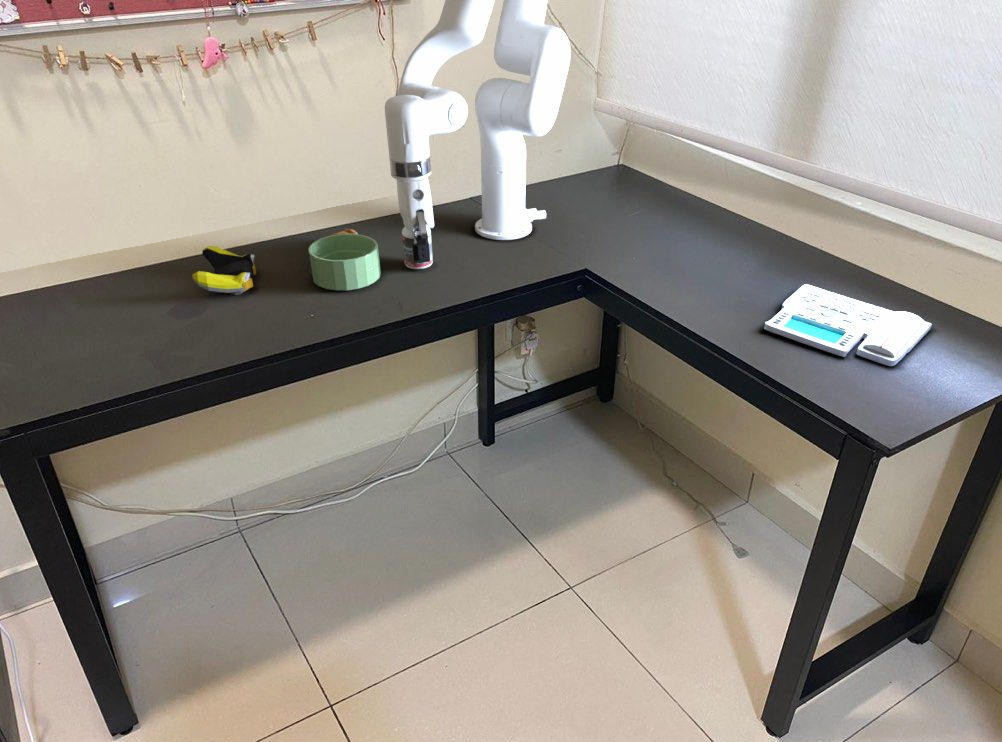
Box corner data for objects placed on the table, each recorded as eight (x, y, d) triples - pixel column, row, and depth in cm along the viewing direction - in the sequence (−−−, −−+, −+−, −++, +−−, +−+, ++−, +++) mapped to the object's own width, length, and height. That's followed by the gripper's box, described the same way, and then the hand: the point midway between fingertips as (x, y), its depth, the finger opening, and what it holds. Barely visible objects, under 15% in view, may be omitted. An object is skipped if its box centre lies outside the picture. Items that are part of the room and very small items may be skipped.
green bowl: (373, 260, 163) (370, 230, 159) (386, 287, 153) (383, 255, 149) (309, 269, 159) (304, 238, 156) (318, 297, 149) (313, 264, 146)
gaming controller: (195, 303, 147) (251, 300, 148) (188, 276, 144) (245, 272, 145) (208, 269, 159) (259, 266, 160) (202, 243, 156) (254, 240, 157)
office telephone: (935, 316, 139) (896, 361, 126) (930, 329, 140) (892, 375, 127) (806, 277, 151) (759, 314, 138) (803, 289, 152) (757, 328, 140)
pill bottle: (398, 264, 161) (394, 217, 155) (419, 255, 164) (416, 209, 158) (417, 272, 157) (413, 225, 152) (438, 263, 161) (435, 216, 155)
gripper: (441, 178, 143) (447, 270, 154) (418, 150, 157) (425, 236, 167) (401, 184, 141) (409, 276, 152) (381, 154, 155) (390, 241, 165)
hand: (418, 254), depth 159 cm, fingers closed on pill bottle, 5 cm apart
